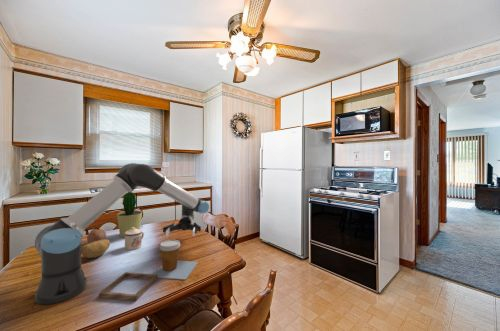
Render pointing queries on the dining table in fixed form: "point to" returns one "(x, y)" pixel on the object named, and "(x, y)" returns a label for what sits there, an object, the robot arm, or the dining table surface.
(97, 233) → the onion
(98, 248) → the potato
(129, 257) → the dining table surface
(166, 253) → the disposable coffee cup
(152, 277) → the walnut collar
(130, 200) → the potted cactus
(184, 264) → the slate mat
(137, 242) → the teacup with lid
